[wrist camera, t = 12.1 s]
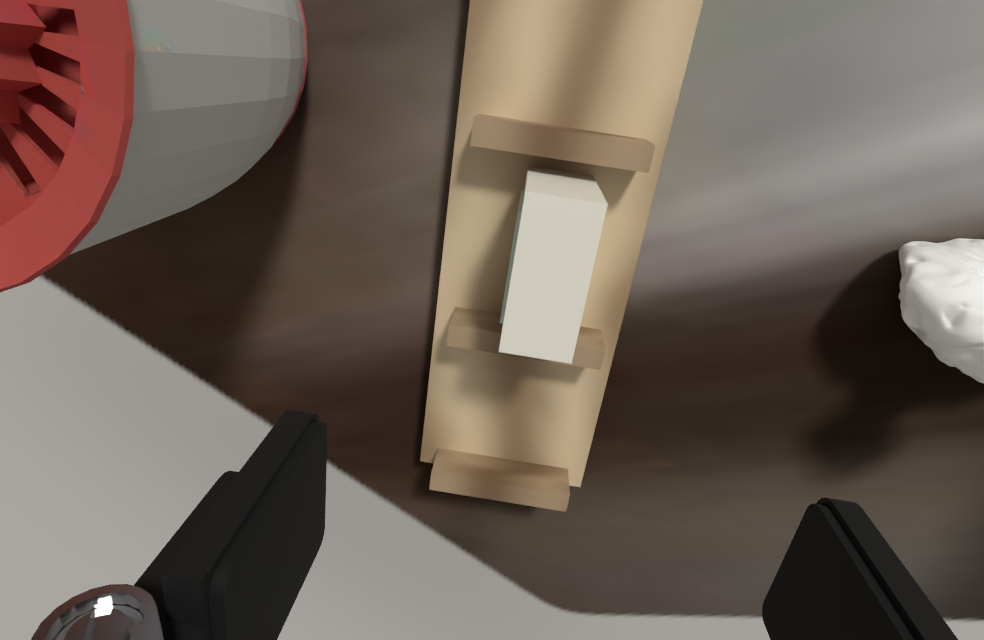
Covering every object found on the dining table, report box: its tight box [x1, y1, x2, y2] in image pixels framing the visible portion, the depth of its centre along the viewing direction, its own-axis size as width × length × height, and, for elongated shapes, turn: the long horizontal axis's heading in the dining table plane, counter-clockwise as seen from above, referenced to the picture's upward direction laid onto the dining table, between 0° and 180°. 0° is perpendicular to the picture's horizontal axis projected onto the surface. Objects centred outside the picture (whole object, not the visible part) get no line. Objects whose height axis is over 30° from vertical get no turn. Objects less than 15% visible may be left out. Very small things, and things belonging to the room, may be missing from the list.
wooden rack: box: [420, 0, 703, 512], centre depth 29 cm, size 10×30×4 cm, turn 172°
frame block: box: [499, 166, 608, 364], centre depth 26 cm, size 3×7×6 cm, turn 172°
